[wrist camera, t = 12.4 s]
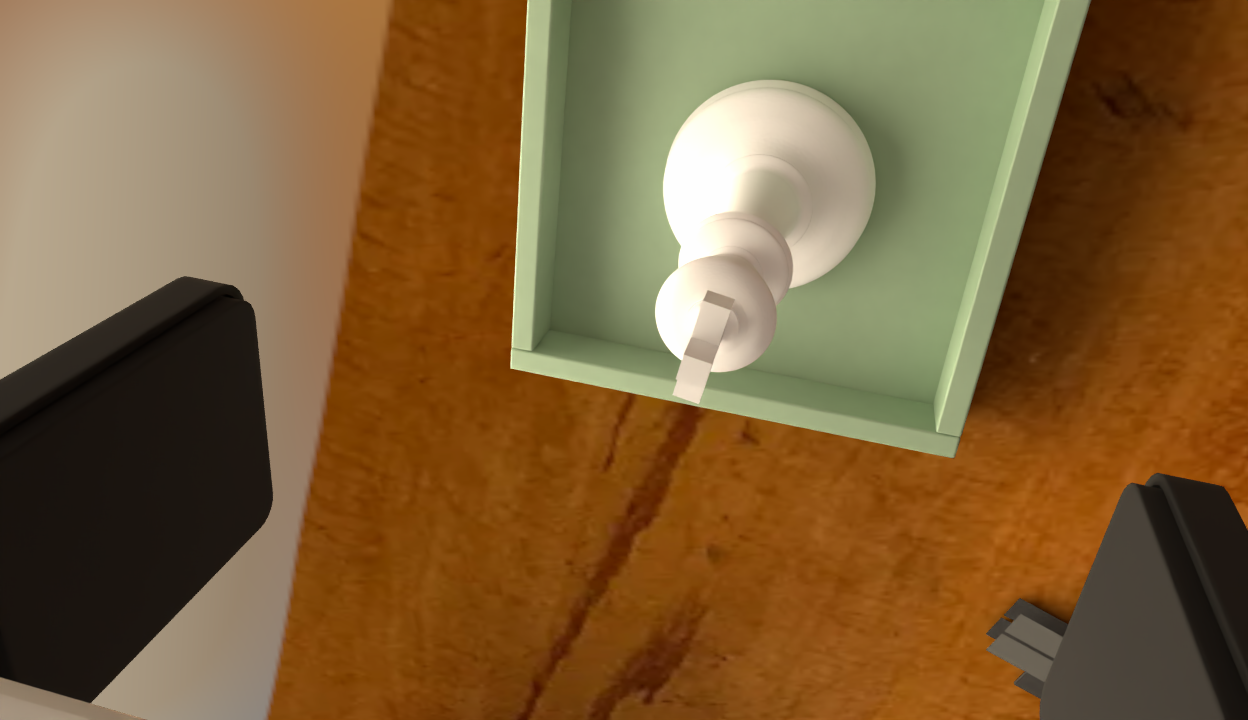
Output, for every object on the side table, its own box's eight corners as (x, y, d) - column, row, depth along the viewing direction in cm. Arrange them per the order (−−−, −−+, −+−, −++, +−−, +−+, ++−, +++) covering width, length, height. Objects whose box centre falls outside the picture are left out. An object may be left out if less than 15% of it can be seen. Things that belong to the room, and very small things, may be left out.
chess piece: (642, 247, 24) (505, 450, 16) (697, 51, 22) (572, 160, 13) (832, 310, 24) (799, 555, 15) (908, 117, 22) (923, 276, 13)
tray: (560, -113, 22) (531, -113, 20) (1086, -52, 20) (1105, -46, 18) (534, 337, 27) (509, 368, 25) (950, 419, 25) (954, 459, 23)
